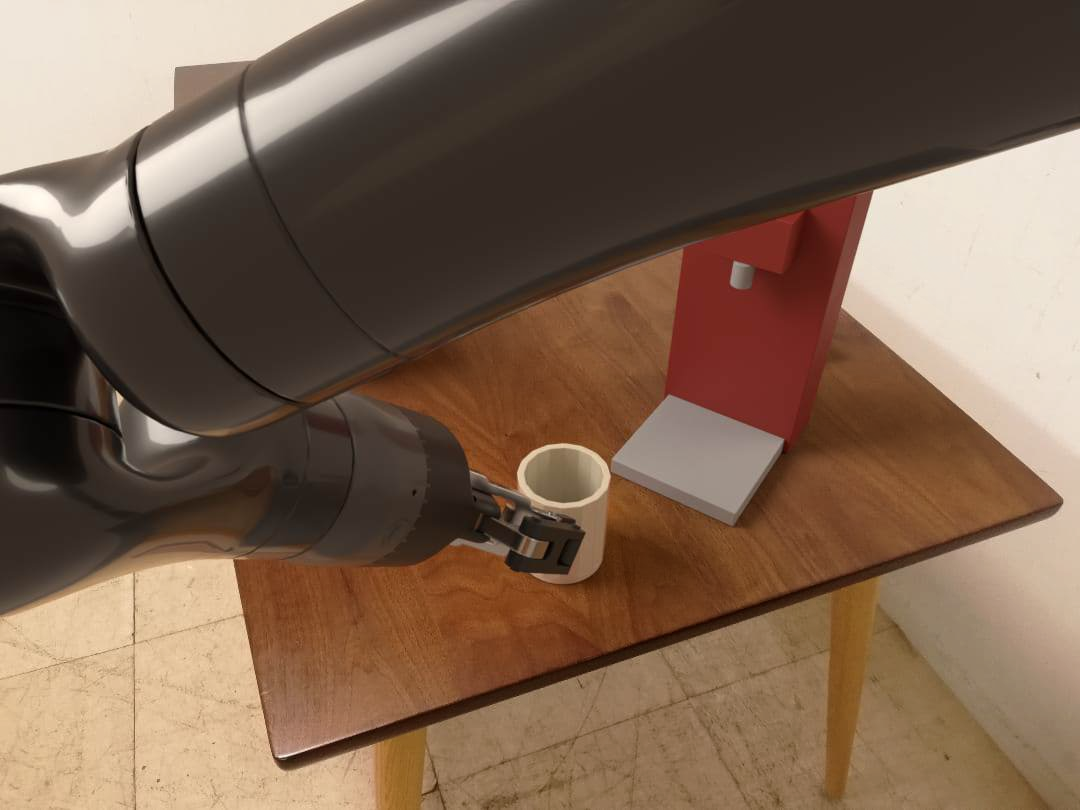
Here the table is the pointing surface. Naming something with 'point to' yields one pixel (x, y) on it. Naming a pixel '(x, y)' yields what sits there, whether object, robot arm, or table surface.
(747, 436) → the coffee maker
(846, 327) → the table surface
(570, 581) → the cream cup
